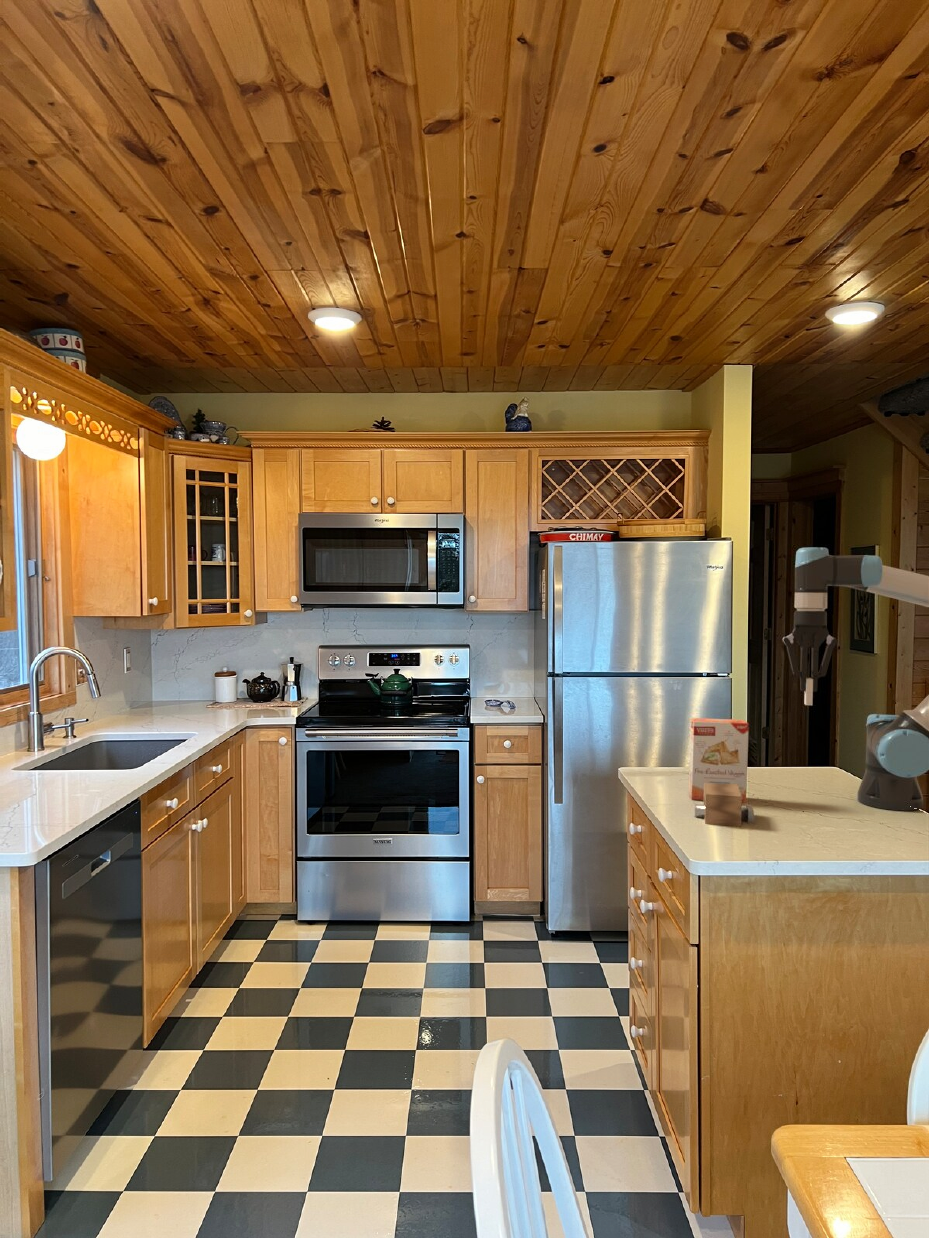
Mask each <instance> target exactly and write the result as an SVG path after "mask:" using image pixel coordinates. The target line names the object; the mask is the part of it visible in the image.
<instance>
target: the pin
mask: <svg viewBox="0 0 929 1238" xmlns="http://www.w3.org/2000/svg"><path fill="white" fill-rule="evenodd" d="M754 813H755V811H754V808H753V806H752V804H745V806H744V807H743V806H741V821H747V823H748V824H749V825H751V824H752V825H754V821H755V819H754V818H755V817H754ZM694 817H695V818H704V819H705V805H703V804H698V803H697V804H695V803H694Z"/></svg>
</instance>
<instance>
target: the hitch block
mask: <svg viewBox="0 0 929 1238" xmlns="http://www.w3.org/2000/svg"><path fill="white" fill-rule="evenodd" d="M742 803H743V802H742V796H741V793H740V790H739V787H738V785H735V784H719V783H704V800H703V804H702V805H705V818H704V824H706V825H716V826H717V825H718V826H733V827H742V820H741V807H742Z"/></svg>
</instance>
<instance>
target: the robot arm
mask: <svg viewBox="0 0 929 1238" xmlns="http://www.w3.org/2000/svg"><path fill="white" fill-rule="evenodd" d="M795 553H796V554H795V565H794V608H795V609H796V610H795V611H794V612H793V627H792V630H791V633H790V634H789V635H787V636H783V637H782V638H781V639H782V642H783V643H784V645H785V646H786V651H787V654H788V659H789V662H790V663H789V664H790V667H791V672H792V674H793V675H794V676H796V677H798V678H799V679H800V680H799V682H800V683H799V684H800V686H799V687H800V688H799V689H800V691H801V692H804V700H803V701H804V705H805V706H813V698H814V695H813V694H814V692H815V693H816V692H817V691H818V682H819V681H818V680H819V678H822V677H823V678H824V677H826V675H827V671H828V668H829V664H830V661H831V659H832V654H833V650H834V648H835V646H837V644H838V643H839V639H837V638H835V637H833V636H831V635H830V634H829V630H828V627H827V623H828V621H827V620H828V619H827V618H828V617H827V616H828V612H827V611H826V609H828V587H829V586H831V587H844V588H850V589H855V590H859V591H862V592H863V591H864V592H867V593H871V594H876V595H879V596H883V597H887V598H892V599H894V600H895V599H896V600H899V601H902V602H908V603H910V604H913V605H914V604H915V605H919V606H922V607H926V608H929V575H926V574H922V573H921V574H920V573H918V572H917V573H916V572H913V571H908V570H905V569H902V568H901V569H899V568H896V567H893V566H888V565H884V564H883V560H882V558H881V556H878V555H869V554H865V555H858V554H857V555H830V553H829V549H828V548H827V547H801V548H798V550H796V552H795ZM794 639H795V642H797V644H798V645H799V646H800V667H798V663H797V662H798V661H797V658H796V653H795V650H794V647H793V646H794V645H793V644H794ZM825 640H826V642H825V643H826V644H827V645H826V646H825V650H824V654H823V658H822V660H821V664H820V668H819V652H820V651H819V650H820V646H821V645H822V644H823V643H824V641H825ZM808 648H811V649H810V650H811V661H810V662H811V665H810V666H811V668H810V671H811V673H810V675H811V677H808V651H809V649H808ZM799 668H800V669H799ZM865 727H866V745H865V747H866V748H865V752H866V753H865V772H864V775H863V777H862V779H861V782H860V784H859V787H858V790H857V801H858V802H860V803H861V804H862V805H866V806H868V807H873V808H879V809H883V810H890V811H891V810H893V811H917V810H916V809H914V808H917V809H918V810H921V809H923V808H924V796H923V794H922V793H923V792H922V790H921V788H920V785H919V784H920V783H919V781H918V778H917V777H919V776H922V775H924V774H925V773H927V772H928V771H929V694H928V695H927V696H926V697H925V698H924V699H923V700H922V701H921V702H920V703H919V704H918V705H917V706H916V707H915V708H914V709H910V710H909V709H904V710H902V712H901V713H900V714H895V715H894V714H877V713H874V714H873V713H872V714H869V715H868V716H867V719H866V724H865ZM910 806H911V807H910Z"/></svg>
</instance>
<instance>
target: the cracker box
mask: <svg viewBox="0 0 929 1238" xmlns="http://www.w3.org/2000/svg"><path fill="white" fill-rule="evenodd" d="M749 724H750V723H748V722H747V721H746V720H745V719H731V718H728V719H727V718H707V717H706V718H703V717H702V718H699V717H690V733H689V734H690V735H689V737H690V739H689V771H688V772H689V774H688V795H689V798H690V799H691V800H692V801H697V800H698V801H704V783H719V784H735V785H738V787H739V790H740V793H741V796H742V803H746V802H747V789H748V788H747V786H748V785H747V784H748V756H749V755H748V754H749V753H748V752H749Z"/></svg>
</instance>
